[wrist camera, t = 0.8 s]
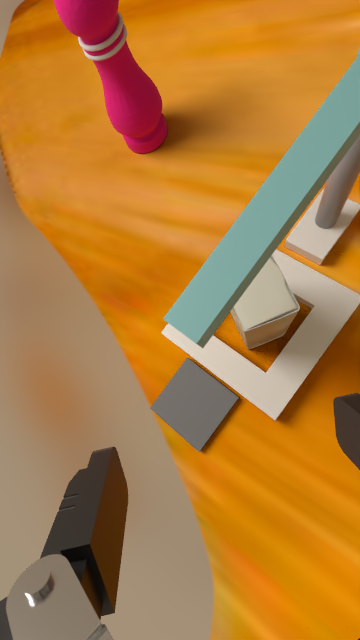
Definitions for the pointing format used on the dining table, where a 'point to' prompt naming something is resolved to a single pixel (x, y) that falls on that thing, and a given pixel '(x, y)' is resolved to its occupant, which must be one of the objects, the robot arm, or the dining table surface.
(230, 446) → the dining table surface
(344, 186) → the holder
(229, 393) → the coaster
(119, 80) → the pepper mill
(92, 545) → the robot arm
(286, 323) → the skincare box
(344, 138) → the swing bar
